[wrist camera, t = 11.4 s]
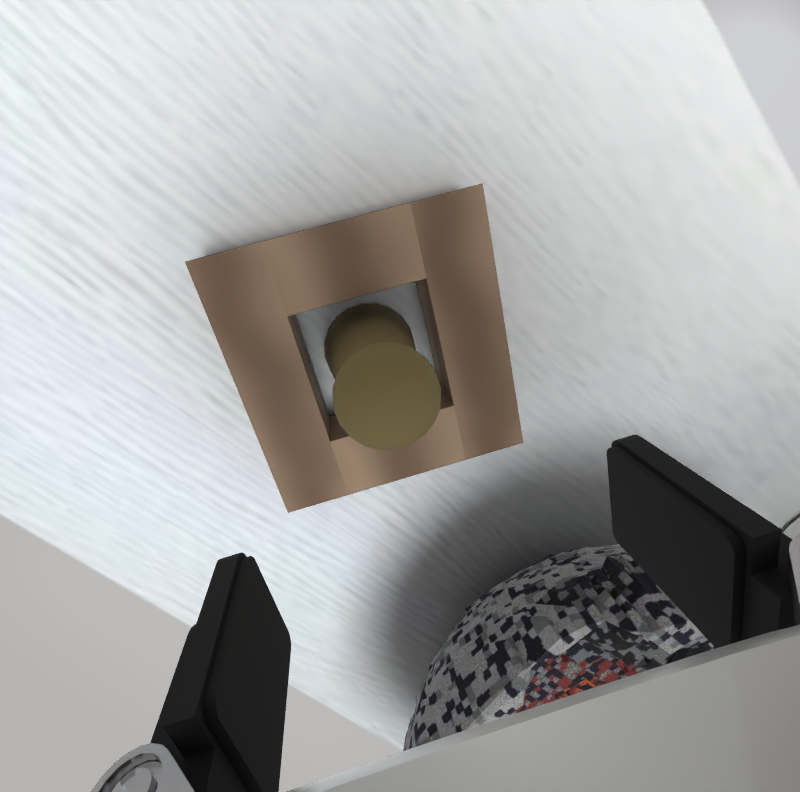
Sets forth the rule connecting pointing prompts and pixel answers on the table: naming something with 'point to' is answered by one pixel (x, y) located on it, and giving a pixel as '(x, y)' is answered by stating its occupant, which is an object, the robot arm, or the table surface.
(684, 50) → the table surface
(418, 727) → the bowl
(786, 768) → the robot arm
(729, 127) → the table surface
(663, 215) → the table surface
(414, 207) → the socket block
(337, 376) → the olive-brown rounded peg
